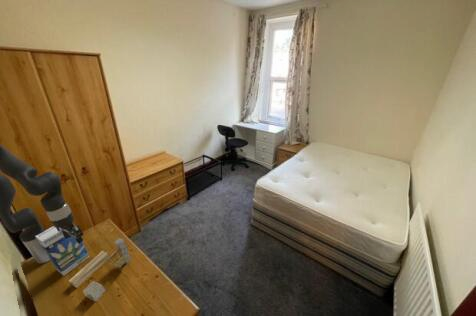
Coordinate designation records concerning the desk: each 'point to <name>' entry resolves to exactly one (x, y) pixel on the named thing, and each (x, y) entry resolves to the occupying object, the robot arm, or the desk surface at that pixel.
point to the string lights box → (62, 250)
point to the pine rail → (88, 269)
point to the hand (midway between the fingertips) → (74, 239)
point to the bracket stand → (96, 289)
